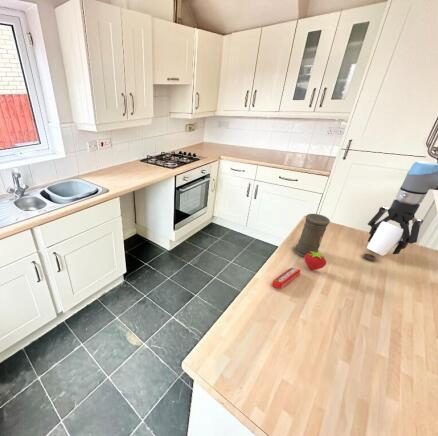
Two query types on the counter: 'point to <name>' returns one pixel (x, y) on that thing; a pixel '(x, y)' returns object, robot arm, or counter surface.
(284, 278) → the candy bar
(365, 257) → the puck
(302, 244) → the container
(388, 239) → the foam cup
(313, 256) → the strawberry
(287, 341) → the counter surface
